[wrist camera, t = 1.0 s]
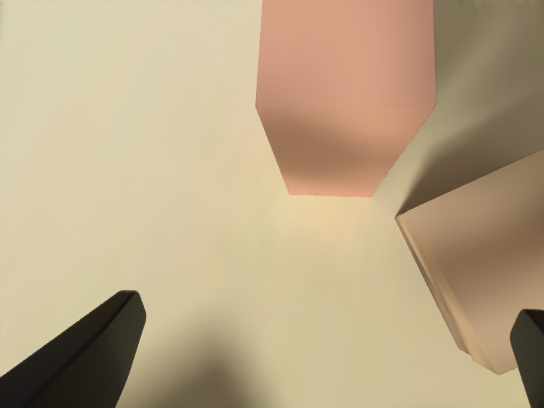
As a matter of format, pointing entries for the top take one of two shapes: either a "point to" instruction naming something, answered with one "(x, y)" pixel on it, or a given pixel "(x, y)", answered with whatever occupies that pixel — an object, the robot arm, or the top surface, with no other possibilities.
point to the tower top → (486, 255)
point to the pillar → (343, 89)
